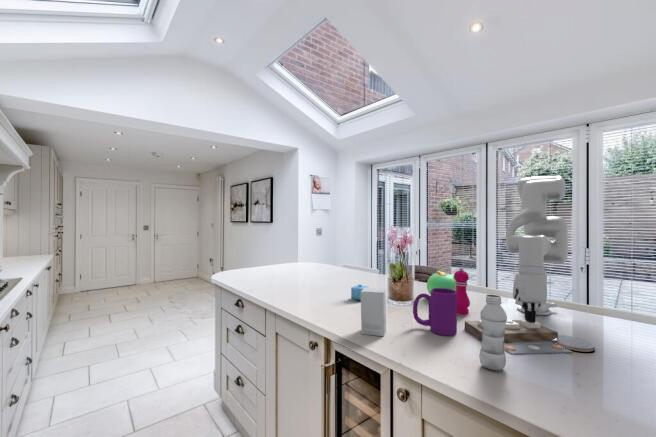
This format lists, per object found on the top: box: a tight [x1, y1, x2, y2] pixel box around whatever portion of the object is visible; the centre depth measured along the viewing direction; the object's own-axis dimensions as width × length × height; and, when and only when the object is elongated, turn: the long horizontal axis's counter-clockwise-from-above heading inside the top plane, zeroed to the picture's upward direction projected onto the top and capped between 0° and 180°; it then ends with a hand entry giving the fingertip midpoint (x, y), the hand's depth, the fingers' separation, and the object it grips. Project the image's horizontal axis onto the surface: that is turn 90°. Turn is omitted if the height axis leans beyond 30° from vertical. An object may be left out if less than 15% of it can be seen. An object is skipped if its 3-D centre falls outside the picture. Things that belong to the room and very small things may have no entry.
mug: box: [412, 288, 458, 337], centre depth 115 cm, size 9×16×15 cm, turn 63°
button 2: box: [519, 319, 542, 329], centre depth 112 cm, size 4×4×3 cm
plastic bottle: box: [479, 293, 508, 371], centre depth 86 cm, size 6×7×20 cm
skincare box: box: [360, 287, 387, 337], centre depth 112 cm, size 8×7×16 cm
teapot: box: [350, 284, 370, 302], centre depth 156 cm, size 12×6×8 cm, turn 147°
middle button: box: [505, 319, 519, 329], centre depth 111 cm, size 4×4×3 cm
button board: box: [464, 319, 559, 344], centre depth 111 cm, size 26×13×3 cm, turn 95°
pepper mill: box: [453, 266, 471, 316], centre depth 136 cm, size 7×7×20 cm
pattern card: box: [504, 342, 574, 356], centre depth 99 cm, size 20×7×1 cm, turn 95°
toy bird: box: [426, 270, 456, 296], centre depth 157 cm, size 18×17×15 cm
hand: (530, 321), depth 111 cm, fingers closed
